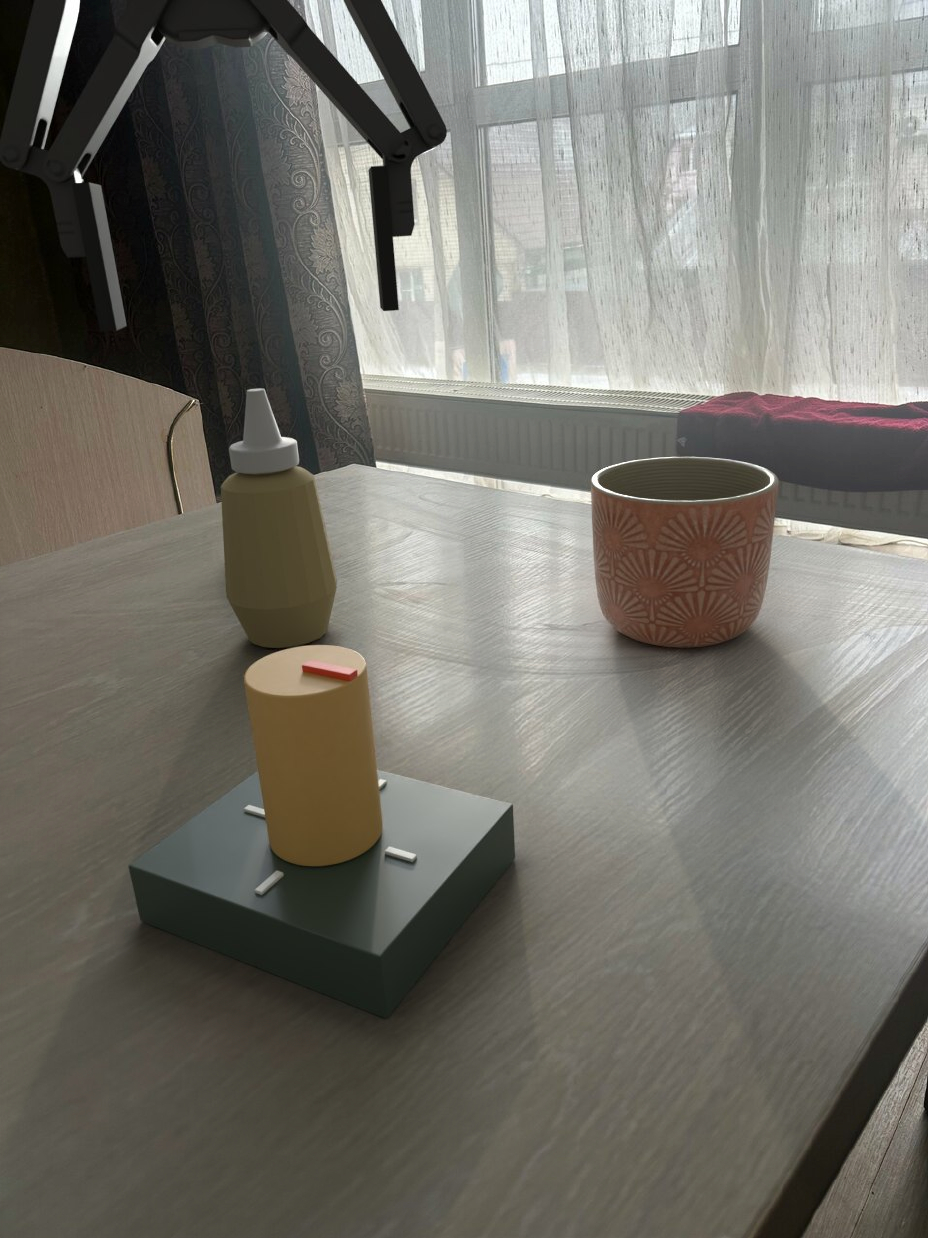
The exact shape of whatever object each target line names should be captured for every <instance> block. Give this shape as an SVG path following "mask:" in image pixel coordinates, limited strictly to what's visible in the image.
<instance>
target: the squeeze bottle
mask: <svg viewBox="0 0 928 1238" xmlns="http://www.w3.org/2000/svg"><path fill="white" fill-rule="evenodd" d="M245 398H246V399H245V411H244V426H243V436H242V437H243V440H240V441H237V442H235V443H232V444H231V445H230V446H229V448H228V453H229V460H230V466H231V470H232V471H233V472H234V473H232V474H229V475H228V477H226V479H225V480H224V481H223V483H221V486H220V498H221V517H222V519H221V520H222V539H223V559H224V561H223V562H224V576H225V577H224V578H225V580H224V581H225V597H226V599H227V602H228V604H229V605H230V607H231V609H232V611H233V613H234V614H235V616H236V618H237V620H238V621H239V623H240V625H241V628H242V629H243V631H244V633H245V635H246V637H247V639H248V640H249V641H250V642H251V643H252V645H256V646H259V647H262V648H270V649H281V648H295V647H299V646H303V645H305V644H309V643H311V642H314V641H316V640H319V639H320V638H322V637H323V636H324V635H325V634H326V633H328V629H329V624H330V621H331V616H332V610H333V606H334V602H335V597H336V592H337V588H338V587H337V586H338V578H337V574H336V569H335V564H334V559H333V555H332V551H331V545H330V541H329V536H328V532H327V528H326V523H325V518H324V514H323V509H322V505H321V501H320V496H319V492H318V488H317V482H316V477H315V475H314V474H313V473H311V472H310V471H309V470H307V469H305V468H304V467H302V466H298V465H299V463H300V457H299V450H298V449H299V448H298V441H297V440H296V439H294V438H292V437H288V436H287V437H286V436H281V432H280V430H279V426H278V423H277V422H276V421H277V420H276V419H275V415H274V412H273V410H272V407H271V404H270V401H269V398H268V395H267V393H266V390H265V388H250V389H247V390H246V397H245Z"/></svg>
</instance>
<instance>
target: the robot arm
mask: <svg viewBox="0 0 928 1238" xmlns="http://www.w3.org/2000/svg"><path fill="white" fill-rule="evenodd" d="M80 3H81V0H33V4H32V9H31V13H30V15H29V16H30V17H29V21H28V25H27V28H26V33H25V36H24V40H23V45H22V50H21V54H20V56H19V61H18V65H17V70H16V73H15V77H14V81H13V86H12V89H11V94H10V98H9V101H8V106H7V110H6V114H5V118H4V121H3V122H4V123H3V126H2V129H1V134H0V162H1V164H3V165H4V166H5V167H7V168H8V169H12V170H14V171H15V170H16V171H18V172H22V173H24V174H29V175H32V176H35V177H37V178H39V179H40V180H42V181H43V182H44V183H45V184H46V186H47V188H48V190H49V193H50V199H51V203H52V207H53V214H54V220H55V223H56V229H57V233H58V238H59V242H60V247H61V249H62V251H63V252H64V254H65V256H66V257H67V259H74V258H85V260H86V265H87V270H88V275H89V280H90V286H91V290H92V291H91V292H92V296H93V302H94V306H95V311H96V317H97V321H98V327H99V332H100V333H104V332H106V333H107V332H117V331H119V330H121V329H124V328H126V327H127V321H126V315H125V309H124V305H123V298H122V293H121V288H120V283H119V277H118V271H117V265H116V260H115V255H114V250H113V243H112V239H111V233H110V227H109V222H108V217H107V211H106V205H105V199H104V194H103V189H102V185H101V184H97V183H93V182H84V181H85V180H84V179H83V177H84V175H85V173H86V172H87V170H88V168H89V166H90V165H91V163H92V161H93V159H94V158H95V155H96V154H97V153H98V151H99V149H100V147H101V146H102V144H103V142H104V141H105V139H106V137H107V135H108V134H109V132H110V130H111V128H112V127H113V125H114V123H115V122H116V120H117V118H118V117H119V115H120V113H121V112H122V110H123V108H124V106H125V104H126V103H127V101H128V99H129V98H130V96H131V94H132V92H133V91H134V90H135V87H136V86H137V84H138V82H139V80H140V79H141V77H142V75H143V74H144V72H145V70H146V68H147V67H148V65H149V64H150V63H151V62H153V60H154V59H155V57H156V56H157V54H158V53H159V51H160V49H161V48H162V45H163V44H164V42H165V40H167V41H169V42H170V43H172V44H173V45H176V46H178V47H182V48H183V49H184V50H202V49H205V48H208V47H211V46H214V45H216V44H221V45H224V46H228V47H232V48H253V44H257V42H259V41H261V40H262V39H263V38H264V37H265V36H266V35H267V34H269V35H270V36H271V37H272V39H274V41H275V42H276V43H277V44H278V45H279V46H280V47H281V48H282V50H283V51H284V52H285V53H286V54H287V55H288V56H289V57H291V58H292V59H293V60H294V62H295V63H297V65H298V66H299V67H300V68H301V69H302V71H304V73H305V74H306V75H307V76H308V77H309V79H310V80H311V81H312V82H313V83H314V85H316V87H318V89H319V90H320V91H321V92H322V94H324V96H325V97H326V98H327V99H328V100H329V102H331V103H332V104H333V106H334V107H335V108H336V109H337V110H338V111H339V112H340V114H341V115H342V116H343V117H344V118H345V119H346V120H347V121H348V122H349V124H350V125H351V126H352V128H354V130H355V131H357V133H358V134H359V135H360V136H361V138H363V140H364V141H365V142H366V143H367V144H368V145H369V147H370V148H371V149H372V150H373V151H374V152H375V154H377V155H378V156H379V158H380V159H381V160H382V165H373V166H372V165H371V166H370V167H369V168H368V170H367V171H368V184H369V193H370V204H371V216H372V226H373V227H372V228H373V238H374V239H373V241H374V250H375V251H374V252H375V263H376V274H377V275H376V276H377V286H378V297H379V307H380V308H379V309H381V311H383V312H390V311H391V312H392V311H393V312H394V311H399V310H400V308H399V307H400V306H399V295H398V283H397V271H396V259H395V258H396V257H395V248H394V247H395V245H394V244H395V243H394V238H397V237H398V238H399V237H412V235H413V232H414V228H415V211H414V210H415V209H414V200H413V199H414V195H413V183H412V165H413V163H414V161H415V160H416V158H418V157H420V156H422V155H424V154H426V153H429V152H430V151H432V150H434V149H436V148H438V147H439V146H441V145H442V144H443V143H444V142H445V140H446V138H447V134H448V130H447V126H446V123H445V122H444V119H443V118H442V115H441V114H440V112H439V110H438V108H437V106H436V104H435V102H434V100H433V98H432V96H431V95H430V92H429V90H428V88H427V86H426V85H425V83H424V81H423V79H422V77H421V75H420V73H419V71H418V69H417V67H416V65H415V63H414V61H413V59H412V58H411V56H410V53H409V52H408V49H407V48H406V46H405V44H404V42H403V40H402V38H401V36H400V34H399V32H398V31H397V28H396V27H395V24H394V22H393V21H392V18H391V16H390V15H389V13H388V11H387V9H386V6H385V5H384V2H383V1H382V0H343V3H344V5H345V7H346V10H347V11H348V13H349V15H350V17H351V19H352V21H353V23H354V24H355V27H356V28H357V30H358V32H359V34H360V36H361V38H362V40H363V41H364V43H365V45H366V47H367V49H368V51H369V53H370V55H371V56H372V59H373V60H374V62H375V65H376V66H377V68H378V70H379V72H380V74H381V76H382V77H383V79H384V81H385V84H386V85H387V87H388V90H389V91H390V93H391V95H392V97H393V98H394V101H395V102H396V104H397V106H398V108H399V110H400V111H401V113H402V115H403V118H404V119H405V121H406V123H407V125H408V127H409V128H408V129H405V130H403V131H401V132H400V130H399V129H398V128H397V127H396V125H394V123H393V122H392V120H390V119H389V117H387V116H386V114H385V113H384V111H382V110H381V108H380V107H379V106H378V105H377V104H376V103H375V101H374V100H373V99H372V98H371V97H370V96H369V95H368V93H367V92H366V91H365V89H363V88H362V86H361V85H360V84H359V83H358V82H357V80H355V78H354V77H353V76H352V75H351V73H350V72H349V71H348V70H347V69H346V68H345V66H343V65H342V64H341V62H340V61H339V60H338V58H337V57H335V55H334V54H333V53H332V51H330V49H329V48H328V47H327V46H326V45H325V44H324V42H322V40H321V39H320V38H319V37H318V36H317V35H316V33H315V32H314V31H313V30H312V29H311V27H310V26H309V24H308V23H307V22H306V21H305V19H304V18H303V16H302V15H301V14H300V12H298V10H296V8H295V7H294V6H293V4H291V2H290V1H289V0H130V1H129V3H128V5H127V6H126V8H125V10H124V12H123V14H122V15H121V17H120V19H119V21H118V23H117V25H116V28H115V31H114V34H113V37H112V39H111V41H110V43H109V44H108V46H107V48H106V49H105V51H104V53H103V55H102V57H101V58H100V60H99V62H98V63H97V65H96V67H95V69H94V71H93V73H92V74H91V76H90V78H89V79H88V81H87V83H86V85H85V87H84V88H83V90H82V92H81V94H80V95H79V97H78V98H77V100H76V101H75V104H74V106H73V108H72V109H71V111H70V113H69V114H68V116H67V118H66V120H65V122H64V124H63V125H62V127H61V129H60V131H59V132H58V134H57V136H56V137H55V139H54V141H53V143H52V144H51V146H50V148H49V149H48V150H47V149H45V145H46V141H47V138H48V134H49V130H50V126H51V123H52V119H53V115H54V110H55V107H56V103H57V99H58V96H59V92H60V87H61V84H62V81H63V80H62V79H63V76H64V74H65V73H64V72H65V70H66V65H67V61H68V57H69V54H70V53H69V52H70V50H71V45H72V41H73V39H74V38H73V37H74V35H75V31H76V26H77V23H78V22H77V21H78V17H79V13H80Z"/></svg>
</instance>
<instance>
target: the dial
mask: <svg viewBox="0 0 928 1238" xmlns="http://www.w3.org/2000/svg"><path fill="white" fill-rule="evenodd" d="M367 667H368V666H367V662H366V660H365V658H364V656H363V655H361V653H360V652H357V651H356V650H353V649H350V648H348V647H344V646H340V645H339V646H338V645H331V644H329V645H328V644H310V645H300V646H294V647H288V648H286V649H282V650H279V651H276V652H272V653H270V654H268V655H265V656H263V657H262V658H260V659H258V660H257V661H254V662H253V664H250V666H249V667H248V668H247V670H246V671H245V673H244V676H243V683H244V690H245V696H246V702H247V710H248V716H249V722H250V728H251V735H252V741H253V747H254V754H255V761H256V766H257V770H258V774H259V780H260V787H261V793H262V800H263V806H264V812H265V819H266V825H267V832H268V838H269V843H270V847H271V848H272V850H273V852H274V853H275V854H276V855H277V856H278V857H280V858H281V859H283V860H285V861H287V862H290V863H292V864H296V865H302V866H328V865H334V864H338V863H342V862H345V861H348V860H351V859H353V858H355V857H357V856H359V855H361V854H363V853H364V852H366V851H367V850H369V849H370V848H371V847H372V846H373V845H374V844H375V843H376V842H377V840H378V839H379V837H380V835H381V833H382V828H383V822H382V812H381V802H380V792H379V783H378V773H377V770H378V764H377V763H378V762H377V753H376V745H375V744H376V743H375V736H374V726H373V715H372V704H371V697H370V687H369V686H370V685H369V678H368V677H369V676H368V668H367Z"/></svg>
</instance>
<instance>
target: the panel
mask: <svg viewBox="0 0 928 1238" xmlns="http://www.w3.org/2000/svg"><path fill="white" fill-rule="evenodd" d="M377 773H378V783H379V792H380V802H381V812H382V822H383V828H382V833H381V835H380V837H379V839H378V840H377V842H376V843H375V844H374V845H373V846H372V847H371V848H370V849H369V850H367V851H366V852H364V853H363V854H361V855H359V856H357V857H355V858H353V859H351V860H348V861H345V862H342V863H338V864H334V865H328V866H302V865H296V864H292V863H290V862H287V861H285V860H283V859H281V858H280V857H278V856H277V855H276V854H275V853H274V852H273V850H272V848H271V847H270V843H269V838H268V832H267V825H266V819H265V812H264V806H263V800H262V793H261V787H260V780H259V774H258V769H257V770H256V771H255V772H253V773H252V774H250V775H249V776H247V778H245V779H244V780H243V781H241V782H239V783H238V784H237V785H236V786H234V787H233V788H232V789H230V790H229V791H227V792H226V793H225V794H223V795H222V796H221V797H219V798H218V799H216V800H215V801H213V802H212V803H210V805H208V806H207V807H206V808H204V809H203V810H202V811H200V812H199V813H197V814H196V815H195V816H193V817H192V818H190V819H189V820H188V821H186V822H185V823H184V824H182V825H181V826H180V827H178V828H177V829H175V830H174V831H173V832H171V833H170V834H169V835H167V836H166V837H164V838H163V839H162V840H161V841H159V842H158V843H157V844H156V845H153V846H152V847H151V848H149V850H147V851H145V852H144V853H143V854H141V855H140V856H139V857H138V858H136V859H135V860H133V861H132V862H131V863H129V864H128V866H127V867H128V871H129V875H130V880H131V884H132V889H133V893H134V898H135V903H136V907H137V911H138V916H139V919H140V921H141V922H142V923H145V924H147V925H149V926H153V927H155V928H157V929H160V930H162V931H165V932H167V933H170V934H172V935H175V936H177V937H180V938H181V939H185V940H187V941H190V942H192V943H194V944H197V945H200V946H203V947H204V948H208V949H209V950H211V951H215V952H217V953H220V954H222V955H225V956H227V957H230V958H232V959H235V960H238V961H240V962H243V963H245V964H247V965H250V966H252V967H255V968H258V969H261V970H262V971H264V972H265V971H266V972H267V973H270V974H273V975H275V976H278V977H280V978H282V979H285V980H288V981H291V982H293V983H295V984H298V985H300V986H303V987H306V988H307V989H310V990H313V991H315V992H318V993H321V994H323V995H325V996H328V997H331V998H333V999H336V1000H339V1001H341V1002H343V1003H345V1004H349V1005H350V1006H353V1007H356V1008H358V1009H361V1010H363V1011H365V1012H368V1013H371V1014H373V1015H375V1016H379V1017H381V1018H384V1019H388V1018H389V1017H390V1016H391V1015H392V1013H393V1012H394V1011H395V1010H396V1008H397V1007H398V1006H399V1005H400V1003H401V1002H402V1001H403V999H404V998H405V997H406V996H407V995H408V993H409V992H410V991H411V990H412V988H414V986H415V984H416V983H417V982H418V981H419V980H420V978H421V977H422V976H423V974H424V973H425V972H426V971H427V969H428V968H429V967H430V966H431V964H432V963H433V962H434V961H435V959H436V958H437V957H438V956H439V954H440V953H441V952H442V951H443V949H444V948H445V947H446V946H447V944H448V943H449V942H450V940H451V939H452V938H453V937H454V935H455V934H456V933H457V932H458V930H459V929H460V928H461V927H462V925H463V924H464V923H465V922H466V920H467V919H469V917H470V916H471V914H472V913H473V912H474V910H475V909H476V908H477V907H478V906H479V905H480V904H481V902H482V901H483V899H484V898H485V897H486V896H487V894H488V893H489V892H490V891H491V889H492V888H493V887H494V886H495V884H496V883H497V882H498V880H500V878H501V877H502V876H503V874H505V872H506V870H507V869H508V868H509V866H510V865H511V864H512V863H513V862H514V861H515V859H516V848H515V847H516V844H515V822H514V821H515V820H514V804H513V803H510V802H505V801H503V800H502V801H501V800H497V799H493V798H491V797H490V798H489V797H486V796H481V795H479V794H478V795H477V794H474V793H471V792H466V791H462V790H459V789H455V788H450V787H446V786H443V785H438V784H435V783H431V782H427V781H422V780H419V779H415V778H412V777H407V776H403V775H399V774H395V773H391V772H387V771H383V770H380V769H377Z"/></svg>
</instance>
